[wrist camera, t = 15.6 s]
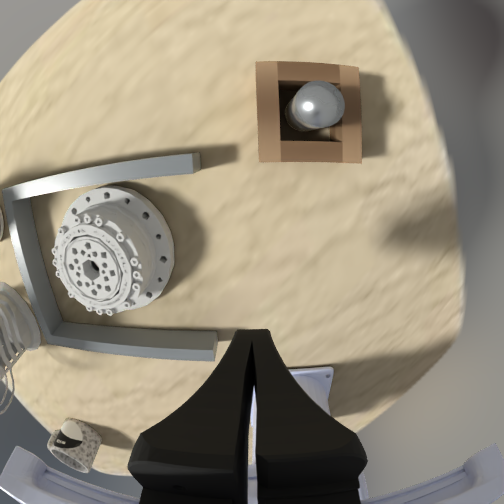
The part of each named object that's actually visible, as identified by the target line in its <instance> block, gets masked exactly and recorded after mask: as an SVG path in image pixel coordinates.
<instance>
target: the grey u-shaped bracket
mask: <svg viewBox="0 0 504 504" xmlns="http://www.w3.org/2000/svg"><path fill="white" fill-rule="evenodd" d="M200 170H201V160H200V153H188V154H178V155H168V156H160V157H152V158H144V159H137V160H130V161H123V162H117V163H111V164H105V165H99V166H94V167H89V168H84V169H79V170H74V171H69V172H64V173H60V174H56V175H51V176H47V177H43V178H39V179H35V180H31V181H28V182H24V183H20V184H17V185H14V186H11V187H7V188H4V189H2V193H3V199H4V206H5V211H6V217H7V222H8V227H9V231H10V236H11V240H12V244H13V248H14V252H15V256H16V259H17V263H18V266H19V270H20V273H21V276H22V279H23V282H24V286H25V288H26V291H27V294H28V297H29V300H30V303H31V305H32V308H33V310H34V313H35V316H36V318H37V321H38V323H39V325H40V328H41V330H42V332H43V335H44V337H45V339H46V341H47V343H48V344H52V345H58V346H63V347H69V348H74V349H80V350H87V351H93V352H101V353H108V354H116V355H125V356H134V357H145V358H157V359H171V360H190V361H215V356H216V351H217V345H218V338H217V331H184V330H158V329H139V328H125V327H112V326H100V325H90V324H80V323H72V322H63V320H62V317H61V314H60V312H59V309H58V306H57V303H56V300H55V297H54V295H53V292H52V288H51V285H50V282H49V279H48V276H47V272H46V269H45V265H44V261H43V258H42V254H41V250H40V246H39V242H38V237H37V233H36V228H35V223H34V218H33V213H32V207H31V201H30V197H32V196H37V195H41V194H46V193H51V192H57V191H62V190H68V189H73V188H79V187H85V186H91V185H98V184H104V183H111V182H119V181H126V180H134V179H143V178H152V177H161V176H172V175H183V174H194V173H196V172H198V171H200Z"/></svg>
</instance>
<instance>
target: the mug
mask: <svg viewBox="0 0 504 504" xmlns="http://www.w3.org/2000/svg"><path fill="white" fill-rule="evenodd" d="M101 442H102V438H101V436H100V435H99V434H98V433H97V432H96V431H95V430H94V429H93V428H92V427H90V426H89V425H87V424H85V423H84V422H82V421H79V420H77V419H74V418H67V419H66V420H65V422H64V424H63V426H62V427H61V429H60V430H55V431H54V433H53V434H52V436H51V437H50V439H49V442H48V445H47V447H48V449H49V450H50V451H51V452H52V454H53V455H54V456H55V457H56V458H58V459H59V460H60V461H61V462H63V463H64V464H66V465H68V466H69V467H72V468H73V469H75V470H78V471H80V472H84V473H89V472H90V469H91V467H92V464H93V462H94V459H95V457H96V454H97V452H98V449H99V447H100V444H101Z"/></svg>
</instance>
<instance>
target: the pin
mask: <svg viewBox="0 0 504 504" xmlns="http://www.w3.org/2000/svg"><path fill="white" fill-rule="evenodd" d="M344 109H345V103H344V99H343V96H342V94H341V92H340V91H339V90H338V89H337V88H336V87H335V86H334V85H332V84H330V83H328V82H326V81H320V80H316V81H311V82H309V83H307V84H305V85H304V86H303V87H302V88H301V89H300V90H299V91H298V92H297V94H296V95H295V96H294V97H293V98H292V100H291V101H290V102H289V103H288V105H287V107H286V109H285V117H286V120H287V122H288V124H289V125H290V126H291V127H292V128H294V129H296V130H298V131H310V130H315V129H319V128H324V127H328V126H331V125H334V124H335V123H337V122H338V121H339V120H340V119H341V117H342V115H343V113H344Z"/></svg>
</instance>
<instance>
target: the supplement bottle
mask: <svg viewBox="0 0 504 504" xmlns="http://www.w3.org/2000/svg"><path fill="white" fill-rule="evenodd" d="M3 229H4V221H3V215H2V211H1V208H0V240H1V238H2V235H3Z"/></svg>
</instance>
